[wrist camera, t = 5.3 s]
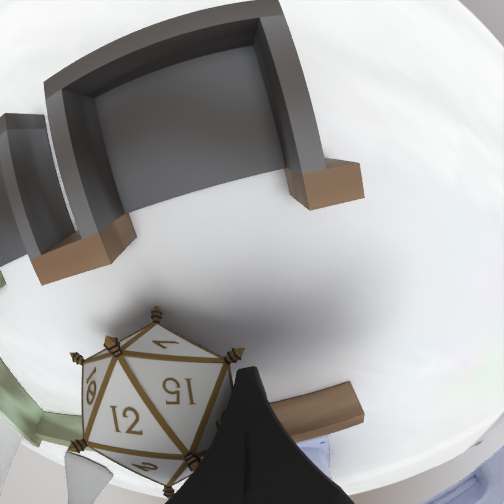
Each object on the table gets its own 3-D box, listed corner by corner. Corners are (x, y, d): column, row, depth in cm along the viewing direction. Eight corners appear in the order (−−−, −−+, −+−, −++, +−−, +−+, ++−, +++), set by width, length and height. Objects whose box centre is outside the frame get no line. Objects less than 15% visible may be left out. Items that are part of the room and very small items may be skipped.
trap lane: (349, 390, 17) (368, 433, 13) (45, 418, 17) (33, 445, 13) (293, 27, 8) (319, -17, 5) (-66, 222, 9) (-95, 238, 5)
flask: (69, 462, 22) (56, 513, 13) (59, 444, 20) (40, 504, 10) (115, 480, 23) (106, 534, 14) (111, 466, 21) (99, 530, 12)
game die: (200, 334, 18) (213, 473, 13) (76, 317, 14) (80, 475, 8) (280, 281, 12) (313, 504, 7) (73, 239, 8) (79, 542, 2)
